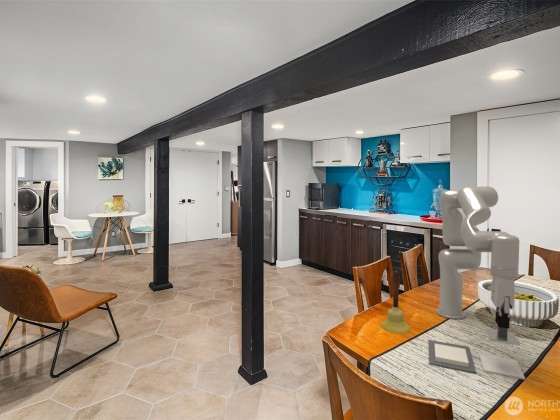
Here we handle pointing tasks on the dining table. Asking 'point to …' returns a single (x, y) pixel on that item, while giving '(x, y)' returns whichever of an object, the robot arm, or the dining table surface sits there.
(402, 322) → the handbell
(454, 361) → the tile
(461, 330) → the dining table surface
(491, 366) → the pad
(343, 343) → the dining table surface
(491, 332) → the post on square base
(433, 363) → the tile mat
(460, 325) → the dining table surface
